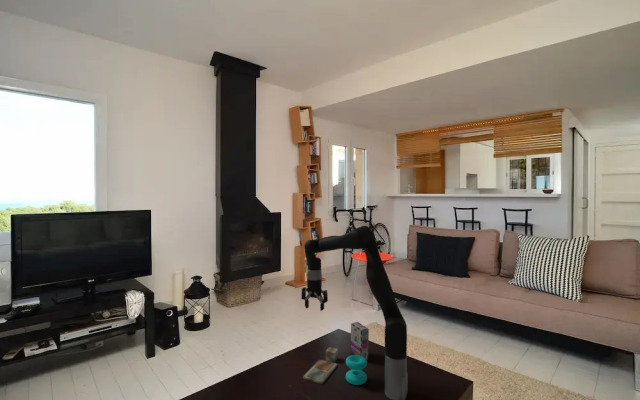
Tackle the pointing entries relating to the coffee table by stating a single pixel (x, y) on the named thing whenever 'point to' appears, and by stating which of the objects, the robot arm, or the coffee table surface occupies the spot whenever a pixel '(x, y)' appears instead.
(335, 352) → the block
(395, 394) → the robot arm
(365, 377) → the donuts
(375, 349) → the coffee table surface
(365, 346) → the candy bar box
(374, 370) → the coffee table surface
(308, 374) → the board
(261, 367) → the coffee table surface
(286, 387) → the coffee table surface
